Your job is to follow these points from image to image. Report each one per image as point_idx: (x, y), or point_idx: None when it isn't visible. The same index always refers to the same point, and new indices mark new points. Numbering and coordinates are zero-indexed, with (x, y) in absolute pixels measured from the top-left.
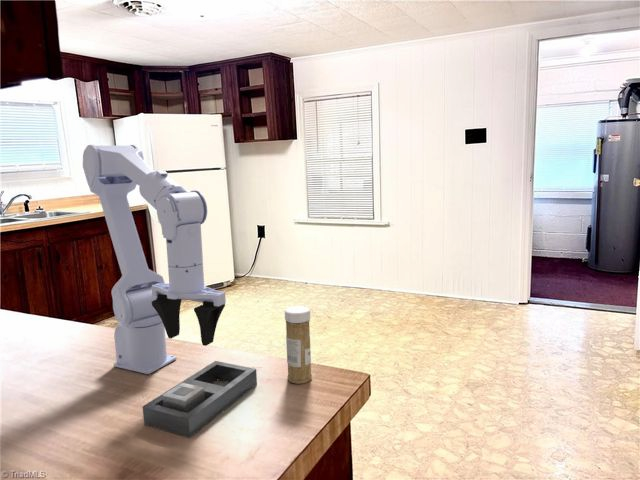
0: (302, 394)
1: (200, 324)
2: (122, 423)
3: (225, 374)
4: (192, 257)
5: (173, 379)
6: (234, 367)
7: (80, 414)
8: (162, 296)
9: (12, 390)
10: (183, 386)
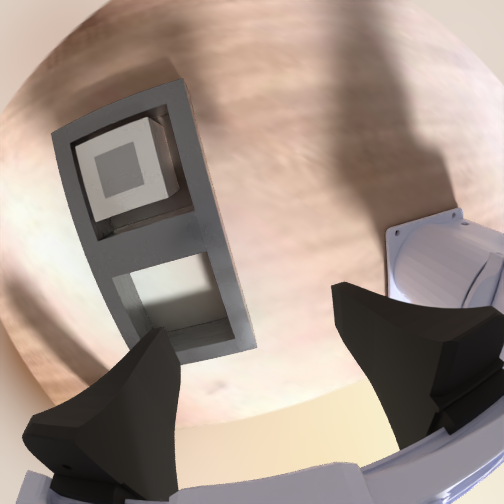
0: (71, 361)
1: (120, 381)
2: (234, 65)
3: (210, 332)
4: None
5: (322, 253)
6: (185, 352)
7: (342, 44)
8: (481, 398)
9: (483, 69)
10: (144, 186)
